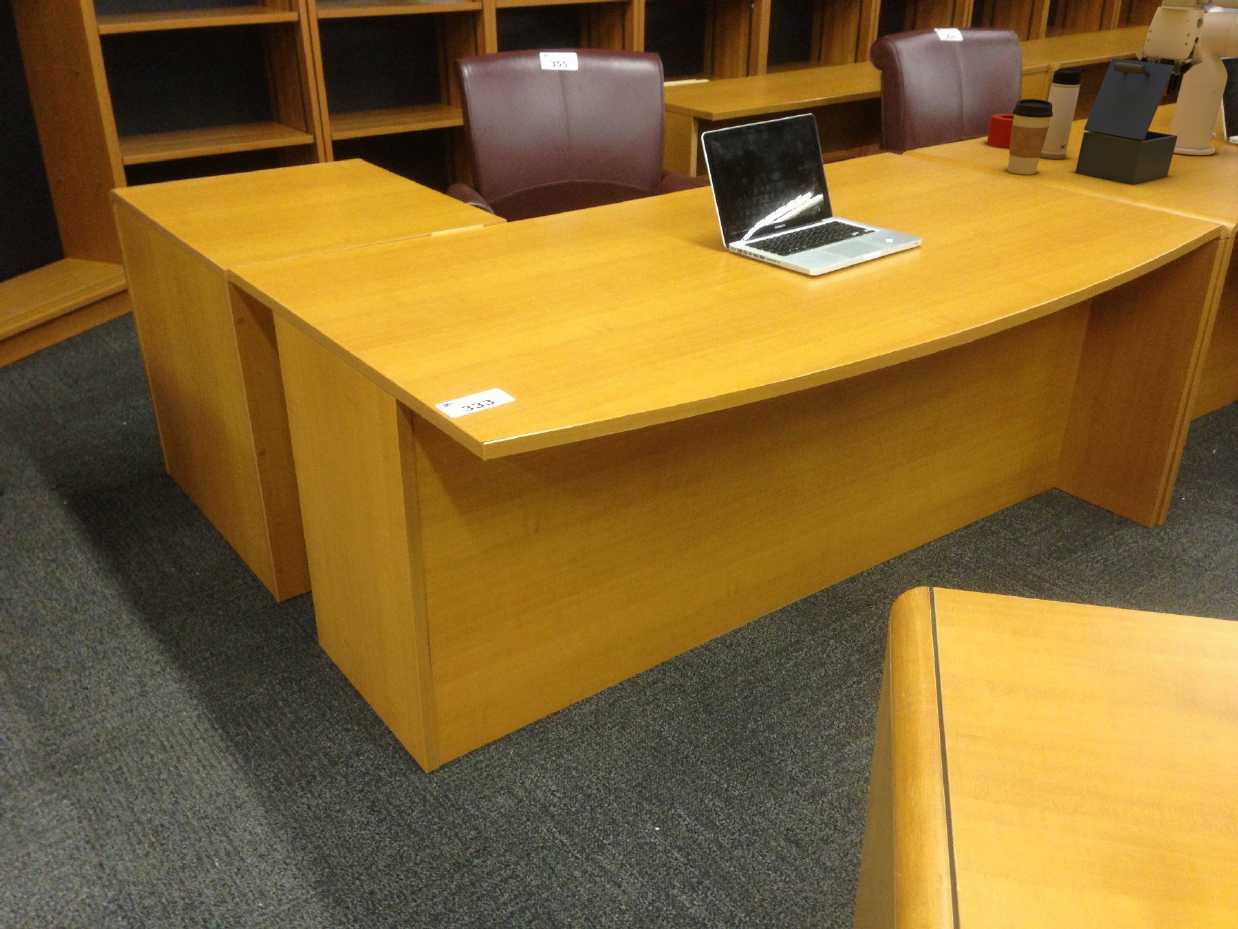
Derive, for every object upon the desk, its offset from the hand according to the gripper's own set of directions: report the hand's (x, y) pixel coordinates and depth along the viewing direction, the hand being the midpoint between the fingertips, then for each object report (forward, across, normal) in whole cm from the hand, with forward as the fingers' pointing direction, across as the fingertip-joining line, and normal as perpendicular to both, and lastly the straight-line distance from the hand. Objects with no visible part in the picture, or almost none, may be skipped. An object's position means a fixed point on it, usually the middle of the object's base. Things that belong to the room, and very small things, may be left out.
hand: (1159, 91), depth 228 cm
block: (0, 0, 0) cm, 0 cm away
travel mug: (+18, +22, +1) cm, 28 cm away
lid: (+1, +2, +10) cm, 10 cm away
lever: (+18, +32, -4) cm, 37 cm away
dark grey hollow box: (+17, +2, +5) cm, 18 cm away
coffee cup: (+18, +16, +22) cm, 32 cm away
